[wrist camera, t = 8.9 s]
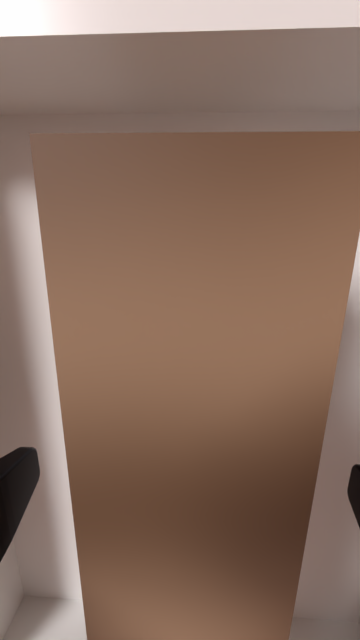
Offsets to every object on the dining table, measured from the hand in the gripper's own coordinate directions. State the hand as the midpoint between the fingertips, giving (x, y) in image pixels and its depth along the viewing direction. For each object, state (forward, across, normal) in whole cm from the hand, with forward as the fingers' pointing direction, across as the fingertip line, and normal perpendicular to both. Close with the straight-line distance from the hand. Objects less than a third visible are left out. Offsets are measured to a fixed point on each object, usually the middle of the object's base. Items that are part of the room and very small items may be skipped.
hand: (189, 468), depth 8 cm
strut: (+2, 0, 0) cm, 2 cm away
